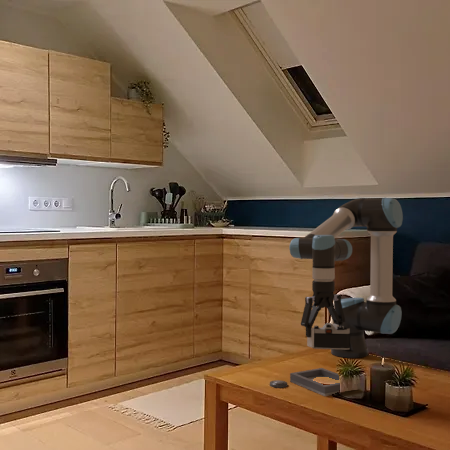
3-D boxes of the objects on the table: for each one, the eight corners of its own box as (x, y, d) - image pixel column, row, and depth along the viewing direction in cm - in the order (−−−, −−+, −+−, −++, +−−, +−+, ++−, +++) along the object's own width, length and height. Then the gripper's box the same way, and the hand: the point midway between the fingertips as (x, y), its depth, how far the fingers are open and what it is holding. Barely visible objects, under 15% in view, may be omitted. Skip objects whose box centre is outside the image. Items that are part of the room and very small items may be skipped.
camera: (349, 344, 210) (347, 318, 210) (351, 349, 203) (349, 322, 203) (311, 347, 212) (309, 321, 212) (312, 352, 204) (310, 325, 204)
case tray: (321, 376, 221) (321, 367, 220) (357, 389, 204) (357, 380, 204) (290, 381, 214) (290, 373, 214) (324, 396, 197) (324, 387, 197)
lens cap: (280, 382, 213) (280, 378, 213) (290, 387, 208) (290, 383, 208) (266, 385, 210) (266, 381, 210) (276, 390, 205) (276, 385, 205)
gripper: (341, 277, 217) (341, 339, 217) (289, 280, 205) (289, 346, 206) (356, 279, 210) (355, 343, 211) (303, 283, 199) (303, 351, 200)
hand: (323, 344), depth 208 cm, fingers closed on camera, 10 cm apart
